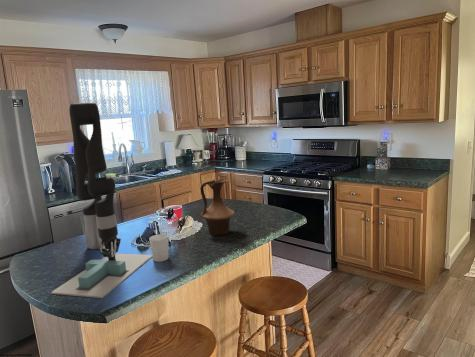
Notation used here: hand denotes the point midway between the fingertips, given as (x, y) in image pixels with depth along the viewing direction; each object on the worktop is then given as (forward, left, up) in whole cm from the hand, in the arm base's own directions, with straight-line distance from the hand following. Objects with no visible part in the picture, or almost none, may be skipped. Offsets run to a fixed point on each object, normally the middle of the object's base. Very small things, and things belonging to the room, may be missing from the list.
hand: (112, 264), depth 155 cm
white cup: (+16, +12, -2) cm, 20 cm away
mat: (0, -5, -2) cm, 5 cm away
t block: (0, -10, -1) cm, 10 cm away
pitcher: (+31, +48, -2) cm, 57 cm away
